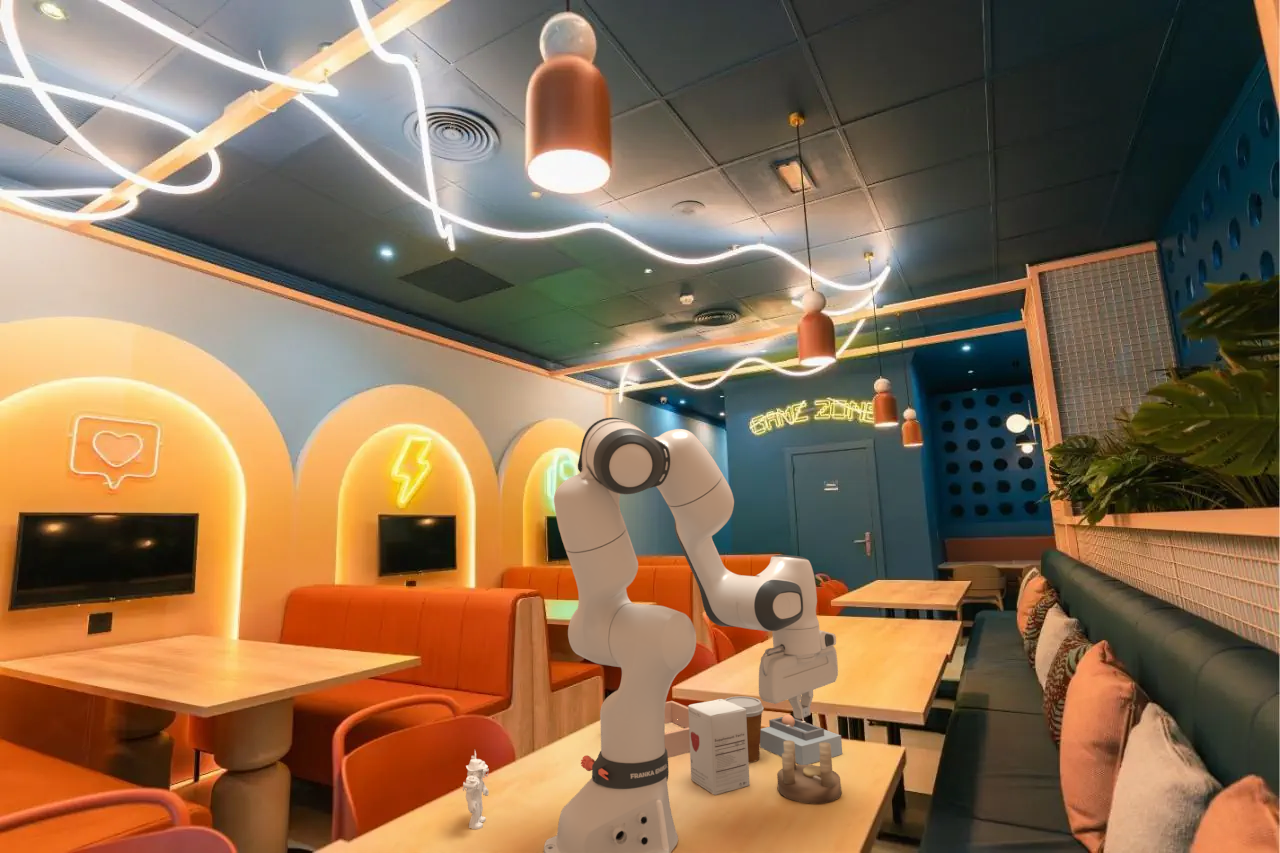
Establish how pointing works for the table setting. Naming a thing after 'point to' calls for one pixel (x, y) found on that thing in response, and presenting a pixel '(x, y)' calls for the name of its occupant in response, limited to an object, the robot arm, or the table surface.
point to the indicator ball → (788, 720)
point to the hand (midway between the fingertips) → (802, 716)
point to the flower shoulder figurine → (476, 791)
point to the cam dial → (808, 777)
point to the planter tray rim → (677, 739)
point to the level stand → (799, 740)
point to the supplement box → (718, 746)
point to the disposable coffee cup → (751, 723)
